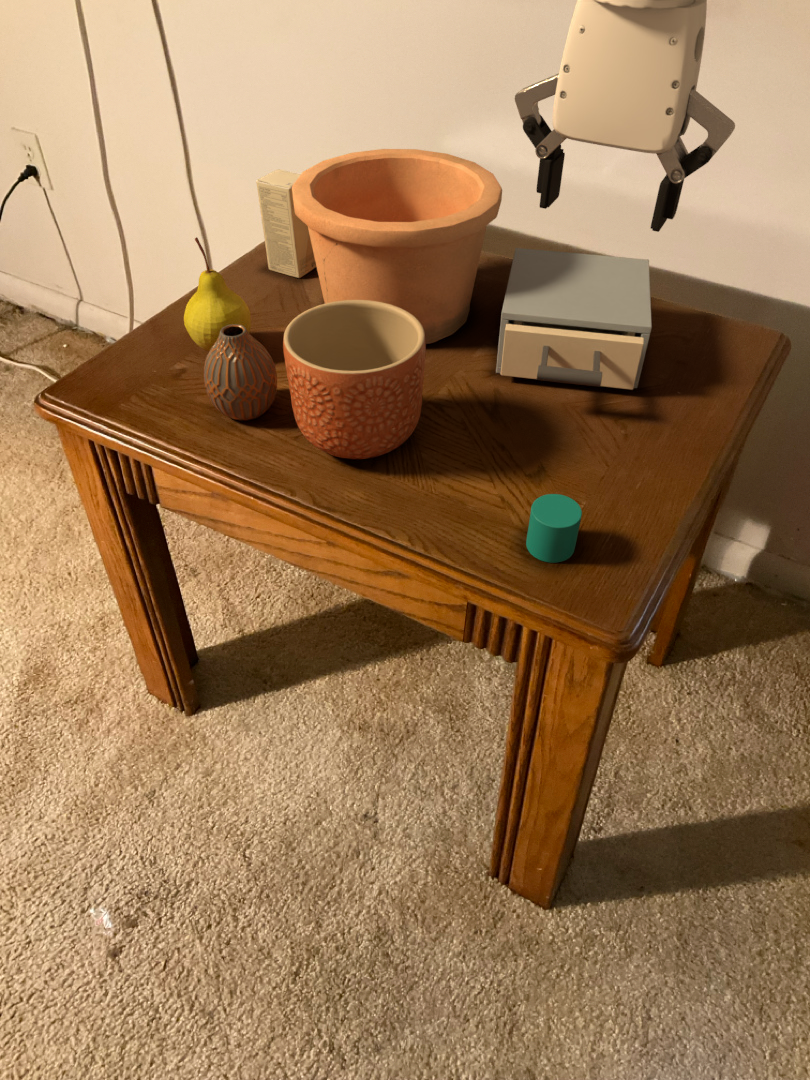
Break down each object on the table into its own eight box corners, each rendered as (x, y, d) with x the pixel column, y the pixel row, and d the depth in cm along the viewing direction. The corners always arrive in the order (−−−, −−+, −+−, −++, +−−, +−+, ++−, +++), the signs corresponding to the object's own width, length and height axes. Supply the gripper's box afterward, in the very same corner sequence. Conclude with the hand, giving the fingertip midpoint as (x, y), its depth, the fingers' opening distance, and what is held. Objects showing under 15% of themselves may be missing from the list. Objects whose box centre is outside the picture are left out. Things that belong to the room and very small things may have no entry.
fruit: (264, 355, 88) (250, 248, 80) (205, 373, 86) (183, 265, 77) (239, 327, 93) (223, 223, 84) (181, 343, 90) (159, 237, 82)
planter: (388, 492, 73) (387, 388, 65) (268, 454, 76) (254, 352, 69) (443, 417, 81) (448, 316, 73) (333, 386, 84) (326, 287, 77)
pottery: (497, 362, 87) (510, 231, 77) (292, 360, 88) (277, 229, 78) (487, 268, 103) (496, 148, 93) (312, 266, 103) (302, 146, 93)
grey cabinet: (637, 388, 84) (651, 327, 79) (495, 373, 86) (501, 312, 81) (635, 317, 94) (649, 259, 89) (509, 305, 96) (515, 247, 91)
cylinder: (575, 532, 69) (583, 496, 66) (573, 566, 66) (581, 530, 63) (528, 526, 70) (533, 490, 67) (524, 559, 67) (529, 523, 64)
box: (320, 266, 103) (313, 176, 95) (299, 279, 101) (290, 188, 93) (286, 255, 105) (277, 167, 97) (265, 269, 103) (254, 178, 95)
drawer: (633, 420, 79) (644, 373, 75) (494, 404, 81) (499, 357, 77) (632, 322, 92) (642, 278, 88) (513, 310, 94) (517, 267, 90)
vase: (245, 438, 78) (232, 359, 72) (195, 412, 81) (179, 334, 75) (295, 405, 82) (286, 326, 76) (245, 381, 85) (233, 304, 79)
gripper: (781, -25, 57) (715, 217, 69) (547, -48, 63) (523, 180, 75) (762, -3, 52) (694, 253, 64) (510, -30, 58) (491, 210, 70)
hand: (602, 213), depth 70 cm, fingers open, 9 cm apart
